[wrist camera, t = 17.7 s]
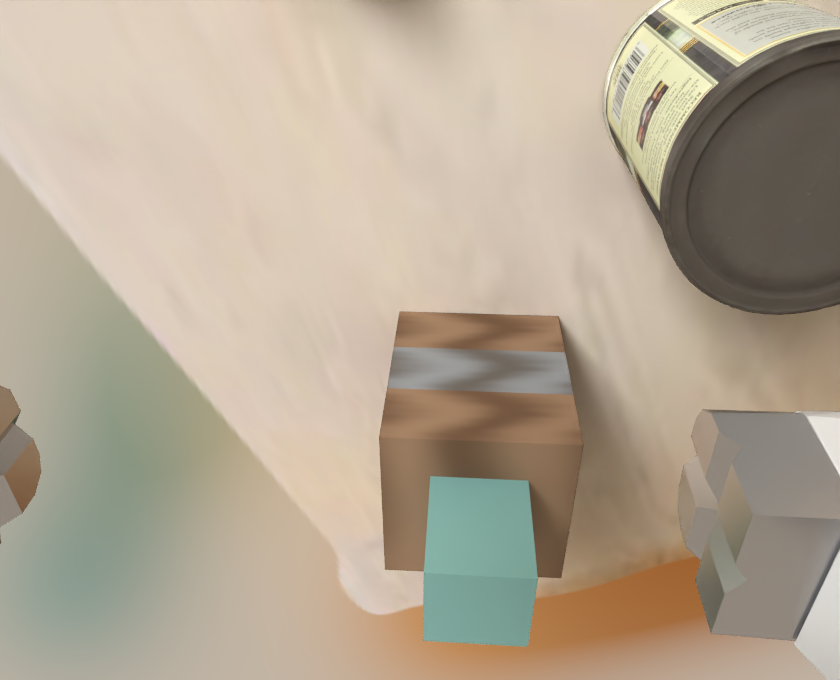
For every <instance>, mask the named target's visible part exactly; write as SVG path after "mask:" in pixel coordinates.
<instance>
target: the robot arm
mask: <svg viewBox="0 0 840 680" xmlns="http://www.w3.org/2000/svg"><path fill="white" fill-rule="evenodd" d="M20 411H21V410H20V408H19V406H18V404H17V402H16V400H15V398H14V396H13V394H12V392H11V390H10V389H7V388H5V387H2V386H0V527H1V526H2V525H4V524H6V523H7V522H9V521H11V520H12V519H14V518H15V517H17V516H19V515H20V514H22V513H23V512H24V510H25V509H26V507H27V505H28V504H29V503H30V501H31V500H32V498H33V497H34V495H35V493H36V489H37V485H38V481H39V478H40V474H41V465H40V456H39V452H38V449H37V447H36V444H35V442H34V440H33V438H32V437H30V436H29V435H28V434H27V433H25V432H24V431H23V430H22V429H21V428H19V427H18V426H17V425H16V424H15V423H16V421H17V419H18V416H19V414H20ZM691 438H692V441H693V444H694V447H695V450H696V453H697V455H696V456H695V457H694V458H693V459H691V460H690V461H689V462H688V463H686V464H685V465H684V466H683V471H682V475H681V480H680V484H679V499H678V512H679V519H680V526H681V531H682V535H683V539H684V542H685V546H686V548H688V549H689V550H690V551H691V552H692V553H693V554H694V555H695V556H696V557H698V558H699V559H700V560H701V563H700V566H699V569H698V573H697V576H696V580H695V581H696V584H697V588H698V591H699V594H700V598H701V601H702V604H703V608H704V611H705V615H706V618H707V622H708V625H709V628H710V632H711V634H721V635H732V636H733V635H734V636H744V637H756V638H767V639H779V640H790V641H796V642H795V644H794V645H795V646H796V647H797V648H798V649H799V651H800V652H801V653H802V654H803V655H804V656H805V657H806V658H807V659H808V660H809V661H810V662H811V663H812V664H813V666H814V667H815V668H816V669H817V670H818V671H819V672H820V673H821V674H822V675H823V676H824V677H825V679H826V680H840V412H831V411H796V412H795V413H794V412H771V411H737V410H704V409H702V410H701V412H700V414H699V415H698V417H697V418H696V421H695V424H694V428H693V432H692V435H691ZM0 543H1V536H0Z"/></svg>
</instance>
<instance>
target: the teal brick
mask: <svg viewBox="0 0 840 680" xmlns="http://www.w3.org/2000/svg"><path fill="white" fill-rule="evenodd" d="M537 581H538V576H537V565H536V555H535V544H534V534H533V523H532V513H531V502H530V491H529V481H525V480H503V479H481V478H459V477H437V476H430V489H429V503H428V518H427V533H426V548H425V563H424V603H423V641H438V642H456V643H473V644H490V645H507V646H508V645H509V646H525V647H527V646H528V641H529V634H530V628H531V621H532V614H533V608H534V601H535V594H536V588H537Z"/></svg>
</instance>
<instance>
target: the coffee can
mask: <svg viewBox="0 0 840 680" xmlns="http://www.w3.org/2000/svg"><path fill="white" fill-rule="evenodd" d="M603 115H604V120H605V123H606V127H607V131H608V133H609V136H610V138H611V140H612V142H613V144H614V146H615V148H616V149H617V151H618V152H619V154H620V155H621V156H622V158H623V160H624V161H625V163H626V165H627V167H628V168H629V170H630V172H631V174H632V175H633V177H634V179H635V181H636V183H637V185H638V186H639V188H640V190H641V192H642V194H643V195H644V197H645V199H646V201H647V203H648V205H649V207H650V209H651V210H652V212H653V214H654V216H655V217H656V219H657V221H658V223H659V225H660V227H661V228H662V230H663V234H664V238H665V241H666V243H667V246H668V248H669V251H670V253H671V255H672V257H673V259H674V261H675V263H676V264H677V266H678V267H679V269H680V270H681V271H682V273H683V274H684V275H685V276H686V277H687V279H688V280H689V281H690V282H691V283H692V284H693V285H694V286H696V287H697V288H698V289H699V290H701V291H702V292H703V293H705V294H706V295H708V296H710V297H711V298H713V299H715V300H717V301H719V302H721V303H723V304H725V305H728V306H731V307H733V308H737V309H740V310H743V311H747V312H752V313H760V314H777V315H782V314H795V313H803V312H809V311H815V310H819V309H822V308H826V307H831V306H835V305H838V304H840V18H838V17H836V16H833V15H830V14H828V13H825V12H822V11H819V10H817V9H814V8H812V7H809V6H807V5H804V4H801V3H798V2H796V1H793V0H661V1H660V2H659V3H657V4H656V5H654V6H653V7H652V8H651V9H649V10H648V11H647V12H646V13H645V14H644V15H643V16H642V17H641V18H640V19H639V20H638V21H637V22H636V23H635V24H634V25H633V26H632V28H631V29H630V30H629V32H628V33H627V34H626V35H625V36H624V38H623V40H622V42H621V43H620V45H619V47H618V49H617V51H616V53H615V55H614V57H613V59H612V62H611V64H610V67H609V70H608V73H607V77H606V82H605V86H604V95H603Z"/></svg>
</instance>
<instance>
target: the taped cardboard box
mask: <svg viewBox="0 0 840 680" xmlns="http://www.w3.org/2000/svg"><path fill="white" fill-rule="evenodd" d="M379 444H380V467H381V489H382V511H383V534H384V556H385V570H406V571H424V563H425V548H426V533H427V518H428V503H429V489H430V476H437V477H459V478H481V479H503V480H525V481H529V491H530V502H531V513H532V523H533V534H534V544H535V555H536V565H537V576H538V577H550V578H561V576H562V570H563V564H564V558H565V552H566V546H567V540H568V534H569V528H570V522H571V516H572V510H573V504H574V498H575V492H576V487H577V481H578V475H579V469H580V463H581V457H582V451H583V441H582V435H581V430H580V425H579V420H578V415H577V410H576V405H575V400H574V395H573V390H572V385H571V380H570V374H569V369H568V364H567V359H566V354H565V349H564V344H563V339H562V334H561V329H560V324H559V319H558V316H530V315H496V314H462V313H428V312H399V318H398V325H397V331H396V337H395V343H394V349H393V355H392V362H391V368H390V374H389V380H388V386H387V392H386V398H385V405H384V411H383V417H382V423H381V429H380V435H379Z"/></svg>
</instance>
